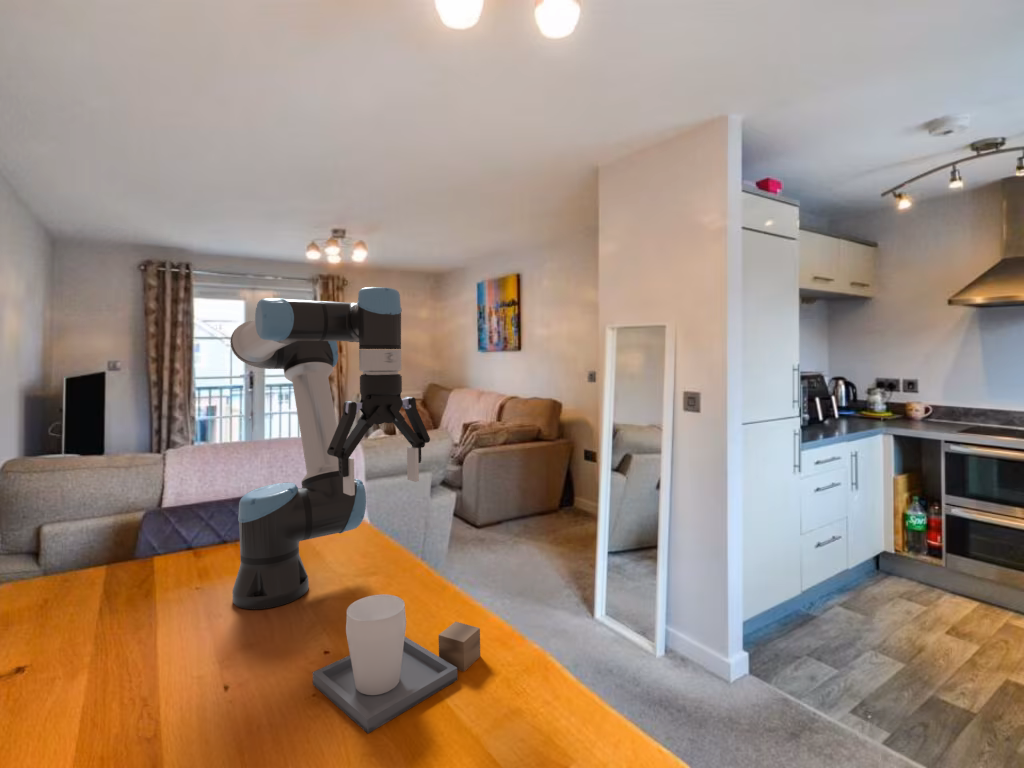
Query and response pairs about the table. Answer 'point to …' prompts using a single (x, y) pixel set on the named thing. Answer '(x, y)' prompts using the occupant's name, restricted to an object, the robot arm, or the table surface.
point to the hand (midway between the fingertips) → (382, 487)
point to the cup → (376, 642)
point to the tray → (372, 711)
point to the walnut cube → (460, 645)
